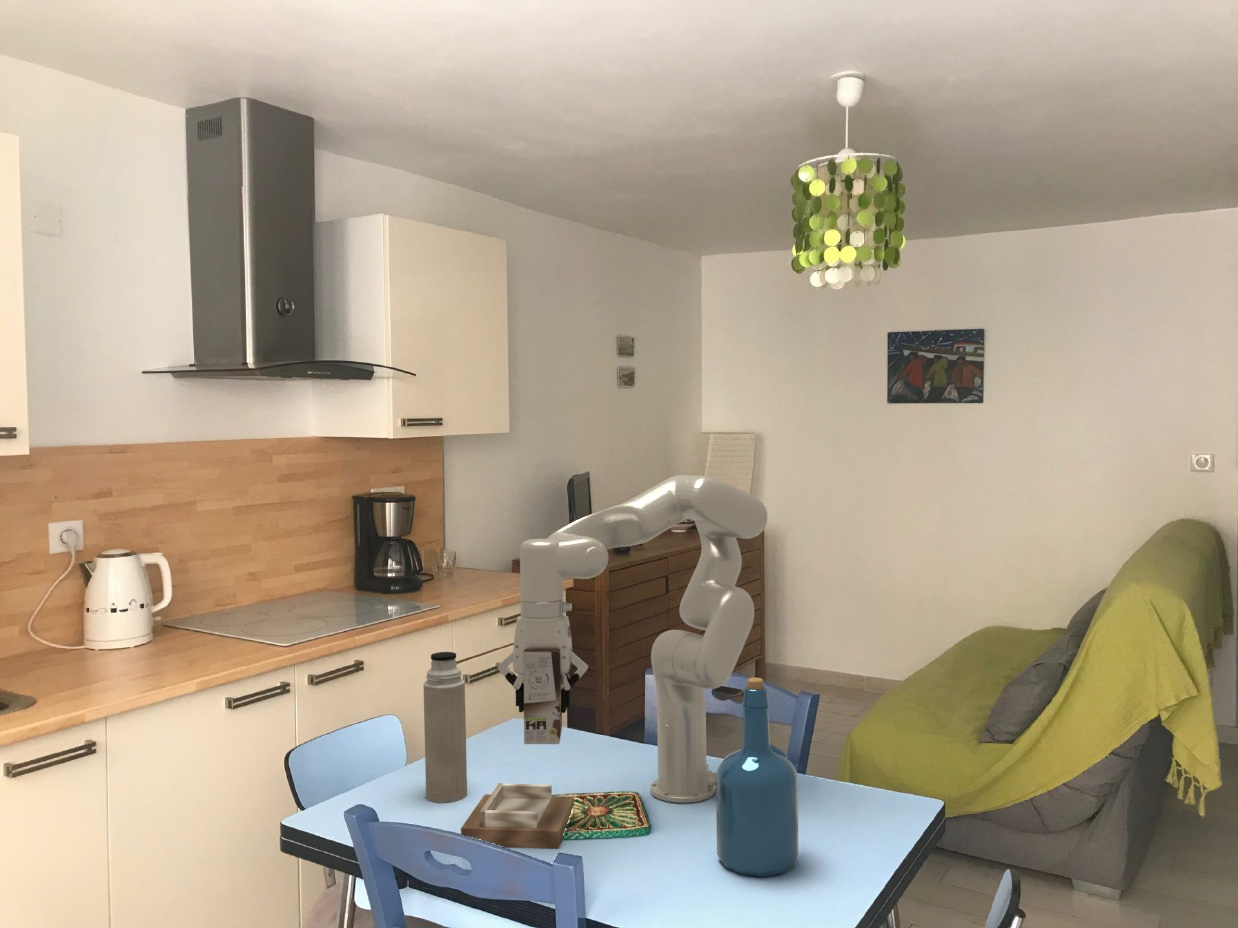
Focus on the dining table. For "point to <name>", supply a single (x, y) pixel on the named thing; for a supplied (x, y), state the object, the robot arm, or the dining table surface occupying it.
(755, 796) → the wine bottle
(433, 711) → the thermos bottle
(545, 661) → the coffee box
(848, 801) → the dining table surface
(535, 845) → the dock
